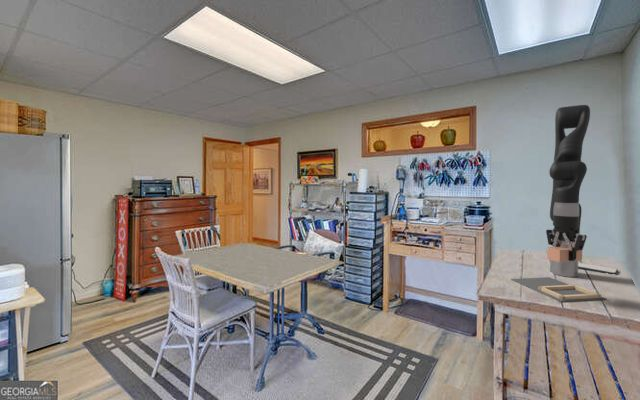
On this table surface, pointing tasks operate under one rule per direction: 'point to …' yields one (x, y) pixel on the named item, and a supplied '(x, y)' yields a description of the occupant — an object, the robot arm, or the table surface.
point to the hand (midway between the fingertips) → (564, 258)
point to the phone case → (597, 268)
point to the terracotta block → (561, 254)
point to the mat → (559, 289)
